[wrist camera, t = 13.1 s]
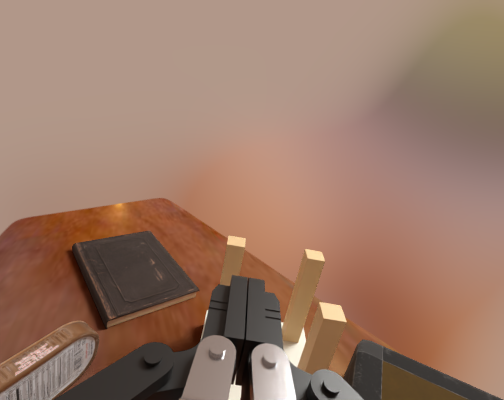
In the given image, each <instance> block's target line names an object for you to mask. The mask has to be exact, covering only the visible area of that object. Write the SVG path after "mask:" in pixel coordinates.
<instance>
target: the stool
mask: <svg viewBox="0 0 504 400" xmlns="http://www.w3.org/2000/svg"><path fill="white" fill-rule="evenodd" d="M245 240H246V239H245V238H240V237H234V236H229V238H228V243H227V248H226V253H225V259H224V265H223V270H222V276H221V281H220V285H226V286H230V282H231V277H232V275H236V276H239V274H240V269H241V264H242V259H243V254H244V249H245ZM324 263H325V260H324V257H323V254H322V252H319V251H313V250H308V249H305V251H304V255H303V258H302V262H301V265H300V269H299V272H298V275H297V279H296V282H295V285H294V289H293V292H292V296H291V299H290V302H289V306H288V309H287V313H286V316H285V319H284V323H281V327H282V338H283V349H284V352H285V353H286V355H287V356H288V359H289V361H290V362H291V363H292V364H293V365H294V366H296V367H297V368H299V369H301V370H303V371H305V372H307V373H309V374H312V375H313V374H314V373H315V372H316V371H318V370H321V369H326V370H328V368H329V365H330V363H331V360H332V358H333V355H334V353H335V350H336V348H337V345H338V343H339V340H340V338H341V335H342V332H343V330H344V327H345V325H346V319H345V316H344V313H343V311H342V308H341V306H339V305H333V304H327V303H322V302H319V305H318V308H317V311H316V313H315V316H314V319H313V322H312V325H311V328H310V331H309V334H308V337H307V340H306V339H305V333H304V328H303V327H304V324H305V321H306V318H307V315H308V312H309V309H310V305H311V302H312V299H313V296H314V293H315V290H316V287H317V284H318V281H319V278H320V275H321V272H322V269H323V266H324ZM207 314H208V310H207V313H206V318H205V322H204V327H203V331H202V336H203V332H204V328H205V323H206V319H207ZM202 336H201V339H202ZM200 341H201V340H200ZM235 380H236V376H235ZM235 380H234V384H233V385H232V384H231V387H230V392H229V398H228V400H240V398H241V387H242V386H239V385H235Z"/></svg>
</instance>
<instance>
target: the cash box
mask: <svg viewBox="0 0 504 400" xmlns="http://www.w3.org/2000/svg"><path fill="white" fill-rule="evenodd" d="M344 380H345V381H346V382H347V383H348V384H349V385H350V386H351V387H352V388H353V389H354V390H355V391H356V392H357V393H358V394H359V395H360V396H361V397H362V398H363V399H364V400H503V399H500V398H498V397H496V396H494V395H491V394H489V393H487V392H484V391H482V390H480V389H477V388H476V387H473V386H471V385H469V384H467V383H464V382H462V381H460V380H458V379H455V378H453V377H451V376H449V375H446V374H444V373H442V372H440V371H437V370H435V369H433V368H431V367H428V366H426V365H424V364H422V363H419V362H417V361H415V360H413V359H410V358H408V357H406V356H404V355H401V354H399V353H397V352H395V351H392V350H390V349H388V348H386V347H383V346H381V345H379V344H377V343H374V342H372V341H368V340H362V341H361V342H360V343H359V344H358V345H357V347H356V349H355V351H354V354H353V356H352V358H351V361H350V363H349V366H348V368H347V370H346V373H345V376H344Z"/></svg>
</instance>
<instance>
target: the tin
mask: <svg viewBox="0 0 504 400" xmlns="http://www.w3.org/2000/svg"><path fill="white" fill-rule="evenodd" d="M98 345H99V335H98V334H97V333H96V332H95V331H94V330H93V329H92V328H90V327H89V326H88V324H87V323H85V322H83V321H73V322H70V323H67V324H65V325H63V326H61V327H59V328H58V329H56V330H54V331H53V332H51V333H50V334H48V335H46V336H45V337H43V338H41V339H40V340H38V341H37V342H35V343H33V344H32V345H30V346H29V347H27V348H25V349H24V350H22V351H20V352H19V353H17V354H16V355H14V356H12V357H11V358H9V359H7V360H6V361H4V362H3V363H1V364H0V400H54V399H55V398H57V397H58V396H59V395H60V394H61V393H63V392H64V391H65V390H66V389H68V388H69V387H70V386H71V385H72V384H74V383H75V382H76V381H77V380H78V379H79V378H80V377H81V376H82V375H83V373H84V372H85V371H86V370H87V369H88V367H89V366H90V364H91V363H92V361H93V359H94V358H95V356H96V353H97V350H98Z"/></svg>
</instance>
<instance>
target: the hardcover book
mask: <svg viewBox="0 0 504 400" xmlns="http://www.w3.org/2000/svg"><path fill="white" fill-rule="evenodd" d="M72 251H73V253H74V256H75V258H76V260H77V263H78V265H79V267H80V270H81V272H82V274H83V277H84V279H85V281H86V284H87V286H88V288H89V291H90V293H91V295H92V298H93V300H94V302H95V305H96V307H97V309H98V312H99V314H100V316H101V319H102V321H103V323H104V326H105V328H106V329H107V327H110V326H113V325H116V324H119V323H122V322H124V321H127V320H130V319H133V318H136V317H139V316H142V315H145V314H147V313H150V312H153V311H156V310H159V309H162V308H165V307H168V306H170V305H173V304H176V303H179V302H182V301H185V300H188V299H191V298H194V297H196V292H197V291H199V289H198V287H197V286H196V285H195V284H194V283H193V281H192V280H191V279H190V278H189V277H188V275H187V274H186V273H185V272H184V271H183V270H182V268H181V267H180V266H179V265H178V264H177V262H176V261H175V260H174V259H173V258H172V256H171V255H170V254H169V253H168V252H167V250H166V249H165V248H164V247H163V246H162V244H161V243H160V242H159V241H158V240H157V238H156V237H155V236H154V235H153V234H152V232H151V231H144V232H138V233H133V234H127V235H121V236H115V237H109V238H103V239H98V240H92V241H86V242H80V243H75V244H74V245H73V246H72Z"/></svg>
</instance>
